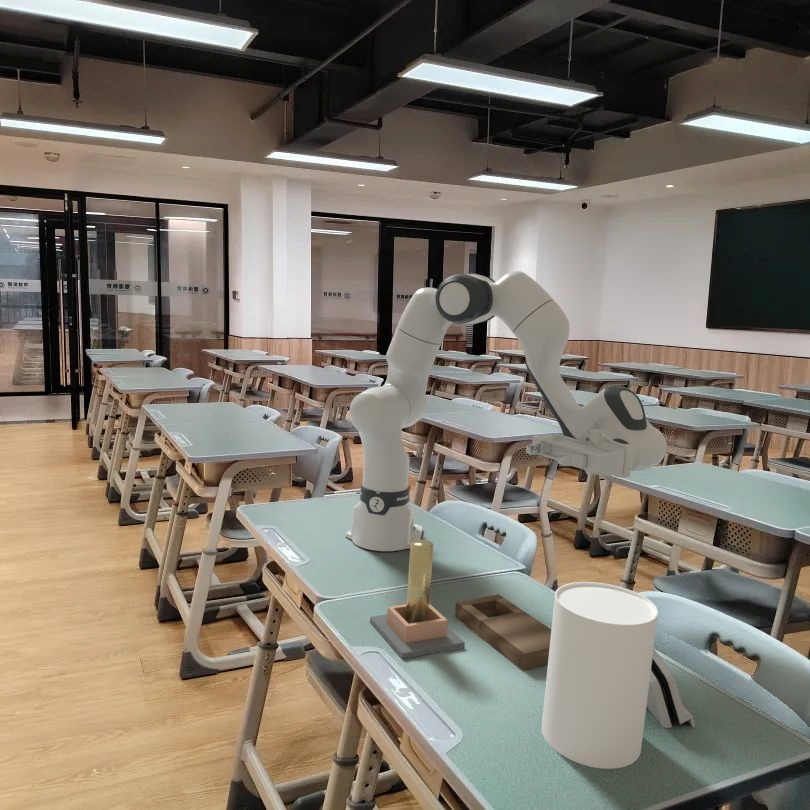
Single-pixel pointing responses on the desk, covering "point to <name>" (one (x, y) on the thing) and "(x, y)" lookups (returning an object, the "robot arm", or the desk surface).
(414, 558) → the axle
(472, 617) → the wooden block with recess
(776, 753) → the desk surface
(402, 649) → the stand
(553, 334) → the robot arm
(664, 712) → the white slotted casing
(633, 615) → the canister
